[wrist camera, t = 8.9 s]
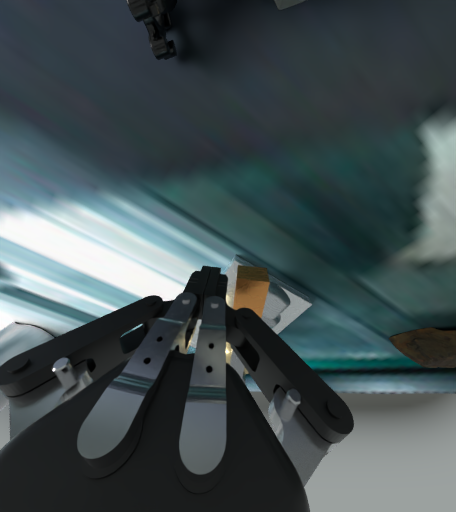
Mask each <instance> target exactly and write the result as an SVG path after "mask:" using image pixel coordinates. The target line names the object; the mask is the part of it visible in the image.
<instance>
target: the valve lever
mask: <svg viewBox="0 0 456 512" xmlns="http://www.w3.org/2000/svg"><path fill="white" fill-rule="evenodd" d="M269 284H270V281H269V276H268V272H267V268H261V267H252V266H243V265H238V267H237V275H236V284H235V292H234V300H233V309H235V310H238V309H239V308H244V307H245V308H249V309H252V310H253V311H254V312H255V313H256V314H257V315H258V316H259V317H260V318H262V313H263V309H264V305H265V301H266V296H267V292H268V288H269ZM230 366H232V367H233V368H234V369H235V370H236V371H237V373H238V374H239V375H240V377H241V379H242V380H243V382H244V384H245V372H244V365H243V364H242V362H241V361H240V360H239V358H238V357H237V355H236V354H235V352H234V351H233V349H232V351H231V359H230Z"/></svg>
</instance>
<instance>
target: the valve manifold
mask: <svg viewBox="0 0 456 512" xmlns="http://www.w3.org/2000/svg"><path fill="white" fill-rule="evenodd" d="M238 265H243V266H252V267H256V266H254V265H252V264H250V263H249V262H247V261H245V260H243V259H242V258H240V257H238V256H237V255H235V256H234V257H233V258H232V260H231V261H230V263H229V264H228V266H227V267H226V268H225V270H224V271H223V273H222V274H226V275H227V277H228V285H227V294H226V303H227V305H228V306H229V307H231V308H233V300H234V292H235V284H236V275H237V267H238ZM268 276H269V281H270V284H269V288H268V292H267V296H266V301H265V305H264V309H263V313H262V318H261V319H262V320H263V321H264V322H265V323H266V324H267V325H268V326H269V327H270V328H271V329H272V330H273V331H274V332H275V333H276V334H278V333H280V332H281V331H282V330H283V329H284V328H285V327H287V326H288V325H289V324H290V323H291V322H292V321H294V320H295V319H296V318H297V317H298V316H299V315H301V314H302V313H303V312H304V311H305V310H306V309H308V308H309V307H310V306H311V305H312V303H311V301H310V299H309V297H308V296H306V295H304V294H302V293H301V292H299V291H297V290H296V289H294V288H292V287H290V286H289V285H287V284H285V283H283V282H282V281H280V280H278V279H276V278H275V277H273V276H271V275H269V274H268ZM201 321H202V320H200V319H198V322H197V325H196V330H195V333H194V335H193V338H192V340H191V343H190V346H192V347H194V348H196V345H197V339H198V333H199V327H200V325H201ZM231 351H232V348H231V345H230V343H228V342H226V363H228V364H229V365H230V359H231ZM244 372H245V374H249V372H248V371H247V370H246V368H245V367H244Z"/></svg>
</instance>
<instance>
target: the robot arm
mask: <svg viewBox="0 0 456 512" xmlns="http://www.w3.org/2000/svg"><path fill="white" fill-rule="evenodd" d="M220 272H221V268H218V267H210V266H203V267H202V269H201V271H195V272H194V273H192V274H191V277H190V279H189V281H188V283H187V285H186V287H185V289H184V291H183V293H181V294H179V295H178V296H177V297H176V299H175V300H171V301H163V300H162V298H161V297H159V296H155V295H153V296H148V297H145V298H143V299H141V300H138V301H136V302H134V303H132V304H130V305H127V306H125V307H123V308H121V309H118V310H116V311H114V312H112V313H110V314H107V315H105V316H103V317H101V318H98V319H96V320H94V321H92V322H89V323H87V324H85V325H83V326H81V327H78V328H76V329H74V330H72V331H69V332H67V333H65V334H63V335H61V336H58V337H56V338H54V337H53V336H52V335H50V334H49V333H47V332H46V331H44V330H42V329H40V328H37V327H35V326H31V325H25V324H16V323H11V324H10V325H8V326H7V327H5V328H4V329H2V330H1V331H0V411H1V410H2V409H3V408H4V407H5V406H6V405H7V404H8V403H9V412H10V414H9V415H10V441H9V442H8V443H7V444H6V445H5V446H4V447H3V448H2V449H1V450H0V512H310V509H309V504H308V500H307V496H306V492H305V489H304V486H305V485H306V483H307V482H308V480H309V479H310V477H311V475H312V474H313V472H314V471H315V469H316V468H317V466H318V465H319V463H320V461H321V460H322V458H323V457H324V456H325V455H327V454H328V452H330V451H331V450H332V449H333V448H334V447H335V446H336V445H337V444H338V443H340V442H341V441H342V440H343V439H344V438H345V437H346V436H347V435H348V434H349V433H350V432H351V431H352V430H353V427H354V421H353V416H352V414H351V412H350V410H349V408H348V406H347V405H346V404H345V402H344V401H343V400H342V399H341V398H340V397H339V396H338V395H337V394H336V393H335V392H334V391H333V390H332V389H331V388H330V387H329V386H328V385H327V384H326V383H325V382H324V381H323V380H322V379H321V378H320V377H319V376H318V375H317V374H316V373H315V372H314V371H313V370H312V369H311V368H310V367H309V366H308V365H307V364H306V363H305V362H304V361H303V360H302V359H301V358H300V357H299V356H298V355H297V354H296V353H295V352H294V351H293V350H292V349H291V348H290V347H289V346H288V345H287V344H286V343H285V342H284V341H283V340H282V339H281V338H280V337H279V336H278V335H277V334H276V333H275V332H274V331H273V330H272V329H271V328H270V327H269V326H268V325H267V324H266V323H265V322H264V321H263V320H262V319H261V318H260V317H259V316H258V315H257V314H256V313H255V312H254V311H253V310H252V309H249V308H245V307H244V308H239V309H238V310H235V309H233V308H231V307H229V306H228V305H227V303H226V294H227V285H228V277H227V275H226V274H220ZM198 319H200V320H202V321H201V325H200V327H199V333H198V339H197V345H196V351H195V353H193V354H187V351H188V348H189V346H190V343H191V340H192V338H193V335H194V333H195V330H196V325H197V322H198ZM140 324H143V325H142V326H140V327H139V328H137V329H135V330H133V331H131V332H130V333H128V334H126V335H124V336H122V335H123V334H124V333H125V332H127V331H129V330H131V329H133V328H135V327H136V326H138V325H140ZM121 336H122V337H121ZM120 337H121V338H120ZM226 342H228V343H230V345H231V348H232V349H233V351H234V352H235V354H236V355H237V357H238V358H239V360H240V361H241V362H242V364H243V365H244V367H245V368H246V370H247V371H248V372H249V374H250V375H251V377H252V378H253V380H254V381H255V382H256V384H257V385H258V387H259V388H260V390H261V391H262V392H263V394H264V395H265V397H266V398H267V399H268V401H269V402H270V405H269V409H268V410H269V418H270V421H271V423H272V425H273V427H274V429H275V432H276V435H275V433H274V432H273V430H272V428H271V427H270V425H269V423H268V422H267V420H266V419H265V417H264V415H263V413H262V412H261V410H260V409H259V407H258V405H257V404H256V402H255V400H254V398H253V397H252V395H251V393H250V392H249V390H248V389H247V387H246V385H245V384H244V382H243V380H242V379H241V377H240V375H239V374H238V373H237V371H236V370H235V369H234V368H233V367H232V366H230V365H229V364H228V363H226ZM276 436H277V437H276Z"/></svg>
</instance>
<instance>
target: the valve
mask: <svg viewBox="0 0 456 512" xmlns="http://www.w3.org/2000/svg"><path fill="white" fill-rule="evenodd" d="M126 1H127V4H128V6H129V9H130V11H131V13H132V15H133V17H134V18H135V20H136V21H137V22H140V21H143V22H144V24H145V26H146V28H147V30H148V33H149V42H150V46H151V48H152V51H153V53H154V55H155V57H156V59H157V60H160V59H163V58H164V59H165V60H167V59H169V58H172V57H175V56H176V55H177V52H176V48H175V44H174V41H173V40H171V41H169V42H168V41H167V39H166V29H168V28H170V27H172V23H171V18H170V14H169V12H170V11H172V10H173V9H174V8H175V6H176V4H177V0H126ZM274 1H275V3H276V5H277V7H278V9H279V10H283V9H286V8H288V7H291V6H293V5H296V4H299V3H301V2H304V1H306V0H274Z"/></svg>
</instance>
